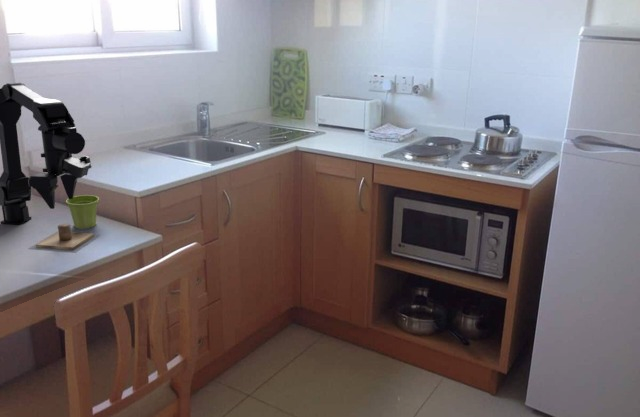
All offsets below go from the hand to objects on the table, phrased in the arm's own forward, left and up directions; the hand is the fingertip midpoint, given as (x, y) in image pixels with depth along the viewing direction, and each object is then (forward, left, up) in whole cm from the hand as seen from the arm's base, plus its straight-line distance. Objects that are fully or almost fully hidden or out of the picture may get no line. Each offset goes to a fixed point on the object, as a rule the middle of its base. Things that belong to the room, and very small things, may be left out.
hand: (61, 203), depth 161 cm
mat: (0, 0, -12) cm, 12 cm away
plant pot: (-2, +14, -12) cm, 18 cm away
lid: (0, 0, -11) cm, 11 cm away
